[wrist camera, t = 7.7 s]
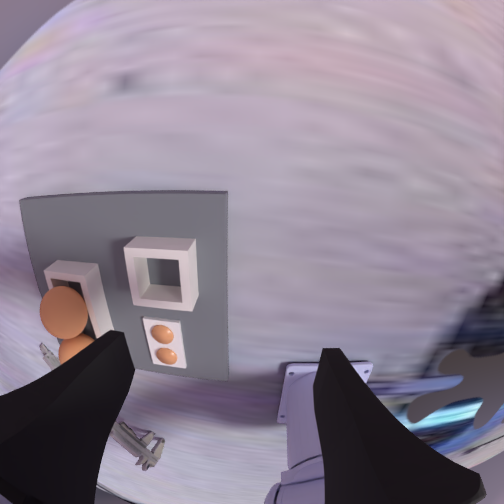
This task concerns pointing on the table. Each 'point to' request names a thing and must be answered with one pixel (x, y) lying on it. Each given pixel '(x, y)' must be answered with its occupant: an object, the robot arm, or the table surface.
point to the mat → (160, 270)
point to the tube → (162, 294)
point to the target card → (165, 341)
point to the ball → (63, 312)
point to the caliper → (123, 430)
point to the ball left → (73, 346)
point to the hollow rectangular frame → (83, 289)
